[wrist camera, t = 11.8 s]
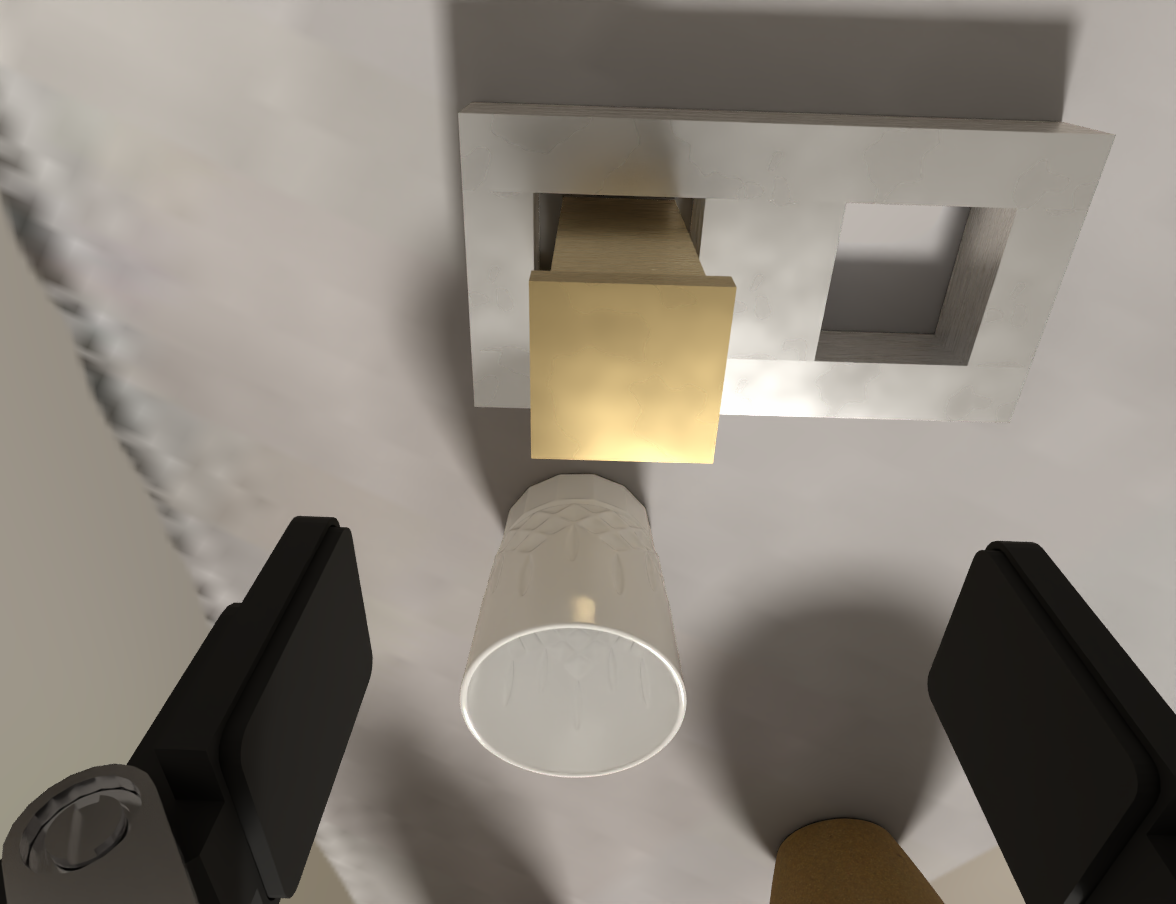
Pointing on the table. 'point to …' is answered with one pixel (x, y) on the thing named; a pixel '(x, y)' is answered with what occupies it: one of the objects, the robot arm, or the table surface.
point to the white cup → (575, 636)
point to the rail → (793, 241)
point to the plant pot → (847, 867)
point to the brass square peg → (626, 337)
